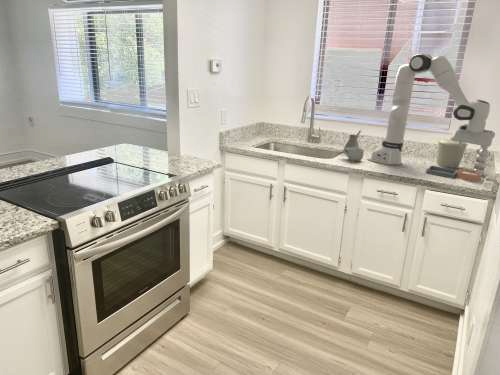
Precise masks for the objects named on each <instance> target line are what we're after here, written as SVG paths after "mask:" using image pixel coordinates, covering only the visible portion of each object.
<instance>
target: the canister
mask: <svg viewBox="0 0 500 375" xmlns="http://www.w3.org/2000/svg"><path fill="white" fill-rule="evenodd" d="M453 138H454V135H452V136H450V138H441V139H440V140H437V151H436V152H437V154H436V165H437V166H438V167H443V168H448V169H457V168H459V166H460V165H461V162H462V159H463V157H464V153H465V151H466V149H467V148H466V147H468V146H469V145H468V144H469V143H465V142H462V143H461V146H463V148H462V149H459V148H460V146H459V141H454V139H453Z"/></svg>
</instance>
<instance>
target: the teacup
mask: <svg viewBox="0 0 500 375" xmlns="http://www.w3.org/2000/svg"><path fill="white" fill-rule="evenodd" d="M345 149H347V151H348V153H346V151H345ZM342 151H343V153H344V155H345V156H346V157H347V159H348V160H349V161H352V162H360V161H361V160H363V158H364V154H365V149H364V148H360V147H359V148H356V147H351V148H343V150H342Z"/></svg>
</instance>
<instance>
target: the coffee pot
mask: <svg viewBox="0 0 500 375" xmlns="http://www.w3.org/2000/svg"><path fill="white" fill-rule="evenodd" d="M361 133H363V131H362V130H359V131H358V132H357V133H356V135H355V134H349V135H348V136H349V139H348V140H347V142H346V144H345V146H344V148H351V147H356V148H360V146H359V142H358V138H359V135H360V134H361ZM344 148H343V149H344ZM345 152H346V153H347V154H348V151H347V149H345Z"/></svg>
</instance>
